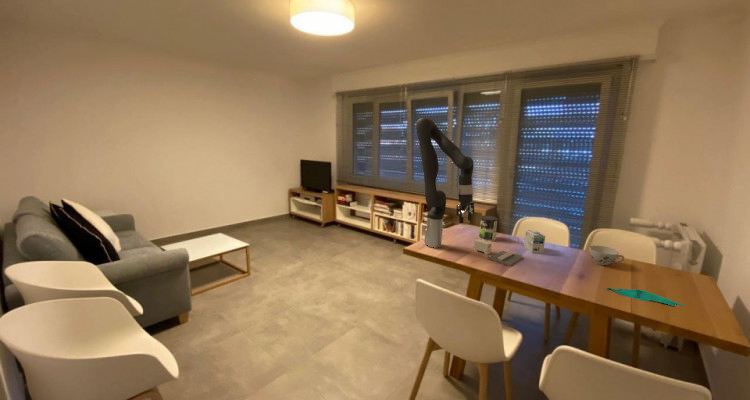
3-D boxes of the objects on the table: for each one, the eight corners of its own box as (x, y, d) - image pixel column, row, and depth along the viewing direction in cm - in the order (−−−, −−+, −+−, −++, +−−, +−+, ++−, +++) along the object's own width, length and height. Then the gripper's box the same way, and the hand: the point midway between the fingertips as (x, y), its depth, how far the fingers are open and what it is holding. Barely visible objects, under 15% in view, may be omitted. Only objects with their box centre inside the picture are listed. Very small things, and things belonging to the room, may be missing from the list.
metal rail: (497, 259, 165) (497, 257, 165) (509, 253, 174) (509, 251, 174) (502, 261, 163) (502, 259, 163) (514, 254, 172) (514, 252, 172)
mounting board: (488, 259, 168) (488, 257, 168) (502, 252, 179) (502, 250, 178) (510, 266, 159) (510, 264, 159) (523, 258, 170) (523, 256, 170)
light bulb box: (543, 253, 178) (546, 235, 176) (531, 253, 178) (534, 235, 176) (534, 247, 188) (536, 229, 186) (523, 246, 189) (525, 229, 186)
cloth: (686, 303, 128) (687, 298, 127) (687, 317, 118) (688, 311, 118) (608, 282, 145) (609, 277, 145) (603, 292, 136) (604, 287, 135)
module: (473, 250, 181) (474, 240, 179) (477, 248, 184) (478, 239, 182) (486, 254, 175) (487, 244, 173) (490, 252, 178) (491, 242, 176)
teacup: (585, 263, 165) (588, 249, 163) (588, 257, 174) (590, 243, 172) (621, 272, 155) (624, 257, 154) (622, 264, 165) (625, 250, 163)
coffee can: (485, 241, 196) (487, 220, 193) (475, 236, 205) (477, 215, 203) (499, 240, 199) (501, 219, 196) (488, 235, 209) (490, 215, 206)
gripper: (466, 191, 180) (466, 219, 182) (452, 194, 170) (452, 223, 172) (478, 192, 174) (478, 220, 176) (464, 194, 165) (464, 224, 167)
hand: (465, 221), depth 174 cm, fingers open, 8 cm apart
